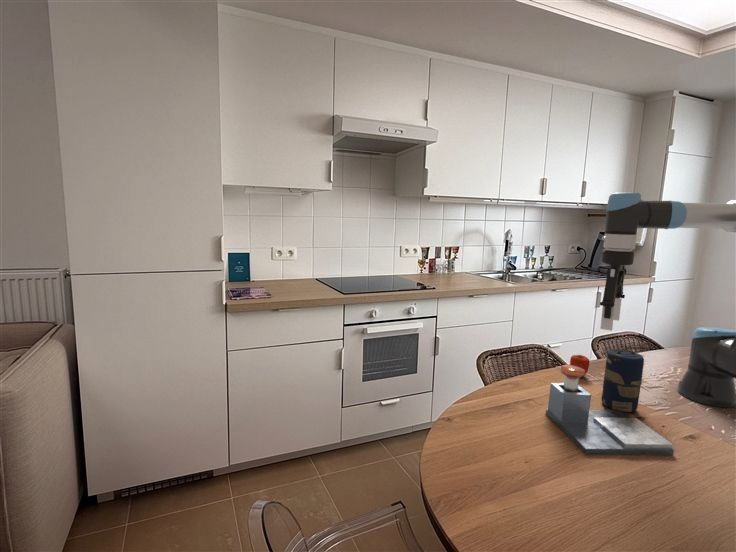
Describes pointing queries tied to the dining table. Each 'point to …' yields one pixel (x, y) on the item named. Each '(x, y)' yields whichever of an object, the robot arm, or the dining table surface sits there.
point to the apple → (580, 362)
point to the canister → (622, 380)
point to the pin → (571, 377)
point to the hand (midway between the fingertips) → (610, 324)
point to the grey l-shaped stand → (602, 426)
